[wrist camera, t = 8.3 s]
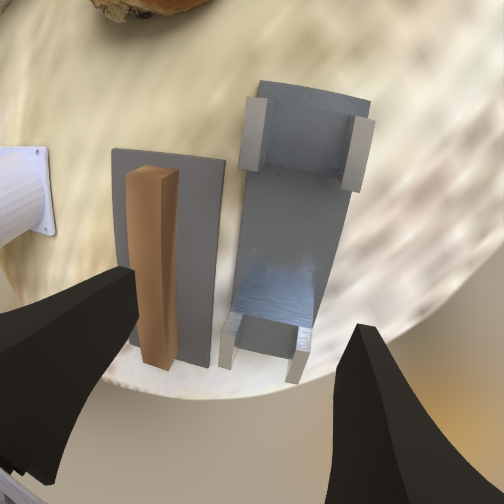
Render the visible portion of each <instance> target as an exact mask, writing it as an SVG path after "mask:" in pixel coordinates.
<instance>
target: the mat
mask: <svg viewBox="0 0 504 504" xmlns="http://www.w3.org/2000/svg"><path fill="white" fill-rule="evenodd" d="M111 161H112V200H113V218H114V232H115V244H116V254H117V264H118V266H122V267H126V268H129V269H130V261H129V248H128V233H127V214H126V174H127V173H129V172H131V171H134V170H136V169H138V168H140V167H142V166H145V165H149V166H158V167H166V168H174V169H179V182H178V206H177V258H176V271H177V324H178V348H179V352H178V354H177V356H176V358H175V359H177V360H181V361H184V362H187V363H191V364H194V365H197V366H201V367H205V368H209V366H210V348H211V331H212V315H213V300H214V286H215V273H216V260H217V248H218V236H219V225H220V214H221V203H222V193H223V183H224V173H225V164H226V160H219V159H212V158H205V157H197V156H189V155H181V154H172V153H163V152H153V151H142V150H131V149H118V148H114V149H112V152H111ZM129 342H130V344H132V345H135V346H138V347H140V341H139V335H138V328H137V323H136V325H135V327H134V329H133V331H132V332H131V334H130V336H129Z"/></svg>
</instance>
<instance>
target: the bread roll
mask: <svg viewBox="0 0 504 504" xmlns="http://www.w3.org/2000/svg"><path fill="white" fill-rule="evenodd" d="M90 1H91V2H92V3H93V5H94V7H95V8H104V15H105V17H106V18H107V19H109V20H113V21H115V22H116V23H121V22H122V23H125V22H128V21H126V19H127V18H128V15H127V14H128V13H130V14H134V15H136V17H138V18H139V19H141V20H144V19H147V18H150V17H151V16H152V15H155V14H159V15H163V16H169V15H173V14H176V13H178V12H181V11H188V10H189V9H191V8H193V7H195V6H197V5H200V4H202V3H204V2H206V1H208V0H90Z"/></svg>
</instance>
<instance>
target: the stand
mask: <svg viewBox="0 0 504 504" xmlns="http://www.w3.org/2000/svg"><path fill="white" fill-rule="evenodd" d="M370 103H371V101H368V100H364V99H360V98H356V97H352V96H348V95H343V94H339V93H334V92H330V91H325V90H320V89H314V88H309V87H303V86H298V85H291V84H285V83H278V82H271V81H263V80H260V83H259V91H258V98H257V97H247V102H246V109H245V117H244V125H243V133H242V141H241V149H240V157H239V165H238V169H243V170H248V173H247V181H246V188H245V196H244V204H243V212H242V220H241V229H240V237H239V245H238V253H237V262H236V270H235V279H234V287H233V296H232V305H231V310H230V313H229V315H228V317H227V320H226V322H225V325H224V327H223V329H222V332H221V339H220V351H219V363H218V367H221V368H225V369H229V370H231V368H232V365H233V362H234V359H235V356H236V353H237V350H238V348H241V349H245V350H249V351H254V352H258V353H262V354H267V355H272V356H276V357H281V358H286V359H289V361H288V367H287V373H286V379H285V382H287V383H292V384H298V383H299V380H300V378H301V375H302V373H303V370H304V367H305V365H306V362H307V360H308V357H309V354H310V349H311V336H312V328H313V325H314V322H315V319H316V316H317V313H318V310H319V307H320V304H321V301H322V297H323V294H324V291H325V288H326V285H327V281H328V278H329V275H330V271H331V268H332V265H333V261H334V258H335V254H336V251H337V247H338V243H339V240H340V236H341V232H342V229H343V225H344V221H345V217H346V213H347V210H348V206H349V202H350V198H351V193H352V191H353V192H357V193H360V190H361V186H362V182H363V177H364V173H365V169H366V164H367V160H368V155H369V151H370V146H371V141H372V137H373V132H374V127H375V122H376V121H374V120H370V119H368V114H369V108H370Z"/></svg>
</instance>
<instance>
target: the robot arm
mask: <svg viewBox="0 0 504 504" xmlns="http://www.w3.org/2000/svg"><path fill="white" fill-rule="evenodd" d="M27 230H31V231H34V232H38V233H41V234H45V235H48V236H53V235H54V234H55V233H56V230H55V224H54V217H53V209H52V201H51V192H50V181H49V168H48V151H47V148H46V147H45V146H0V248H1V247H3V246H4V245H6V244H7V243H9V242H10V241H12V240H13V239H15V238H16V237H18V236H19V235H21V234H23V233H24V232H26V231H27ZM138 319H139V309H138V300H137V290H136V279H135V270H133V269H129V268H126V267H122V266H118V267H115V268H112V269H110V270H107V271H105V272H103V273H101V274H98V275H96V276H94V277H92V278H90V279H88V280H85V281H83V282H81V283H79V284H77V285H74V286H72V287H70V288H68V289H66V290H64V291H61V292H59V293H56V294H54V295H52V296H49V297H47V298H45V299H42V300H40V301H38V302H35V303H32V304H30V305H27V306H24V307H21V308H18V309H15V310H12V311H9V312H6V313H2V314H0V504H47V503H46V502H44V501H43V500H42V499H40V498H39V497H37V496H36V495H35V494H33V493H32V492H31V491H29V490H28V489H27V488H25V487H24V486H23V485H21V484H20V483H19V482H18V481H16V480H15V479H14V478H13V477H11V476H10V475H11V473H12V472H13V470H15V471H16V472H17V473H18V474H20V475H21V476H23V475H24V474H25V472H28V473H29V474H30V475H31V476H33V477H34V478H35V479H37V480H38V481H39V482H41V483H42V484H44V485H52V484H54V483H55V479H56V475H57V471H58V468H59V464H60V461H61V458H62V455H63V452H64V449H65V446H66V444H67V441H68V439H69V436H70V434H71V431H72V429H73V427H74V425H75V423H76V420H77V418H78V416H79V414H80V412H81V410H82V408H83V406H84V404H85V402H86V400H87V398H88V396H89V395H90V393H91V391H92V390H93V388H94V386H95V385H96V384H97V382H98V381H99V379H100V378H101V377H102V375H103V374H104V372H105V371H106V369H107V368H108V367H109V365H110V364H111V362H112V361H113V360H114V358H115V357H116V355H117V354H118V353H119V351H120V350H121V348H122V347H123V346H124V344H125V343H126V341H127V340H128V338H129V336H130V334H131V332H132V331H133V329H134V327H135V325H136V323H137V321H138ZM325 504H504V493H503V492H501V491H500V490H499V489H498V488H496V487H495V486H493V485H492V484H491V483H489V481H487V480H486V479H485V478H484V477H483V476H482V475H481V474H480V473H479V472H478V471H477V470H476V469H474V468H473V467H472V466H471V465H470V464H469V463H468V462H467V461H466V460H465V459H464V457H463V456H462V455H461V454H460V453H459V452H458V451H457V450H456V449H455V447H454V446H453V445H452V444H451V443H450V442H449V441H448V439H447V438H446V437H445V436H444V434H443V433H442V432H441V431H440V429H439V428H438V427H437V425H436V424H435V423H434V421H433V420H432V419H431V417H430V416H429V415H428V413H427V412H426V410H425V409H424V408H423V406H422V404H421V403H420V401H419V400H418V398H417V397H416V395H415V394H414V392H413V391H412V389H411V387H410V386H409V384H408V382H407V381H406V379H405V377H404V376H403V374H402V372H401V371H400V369H399V367H398V365H397V364H396V362H395V360H394V358H393V357H392V355H391V353H390V351H389V349H388V348H387V346H386V344H385V342H384V341H383V339H382V337H381V335H380V334H379V332H378V330H377V329H376V327H374V326H369V325H363V324H358V323H357V325H356V327H355V329H354V332H353V334H352V336H351V338H350V340H349V342H348V345H347V347H346V349H345V351H344V353H343V355H342V357H341V359H340V361H339V363H338V365H337V368H336V377H335V385H334V394H333V455H332V466H331V473H330V479H329V484H328V490H327V495H326V499H325Z"/></svg>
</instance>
